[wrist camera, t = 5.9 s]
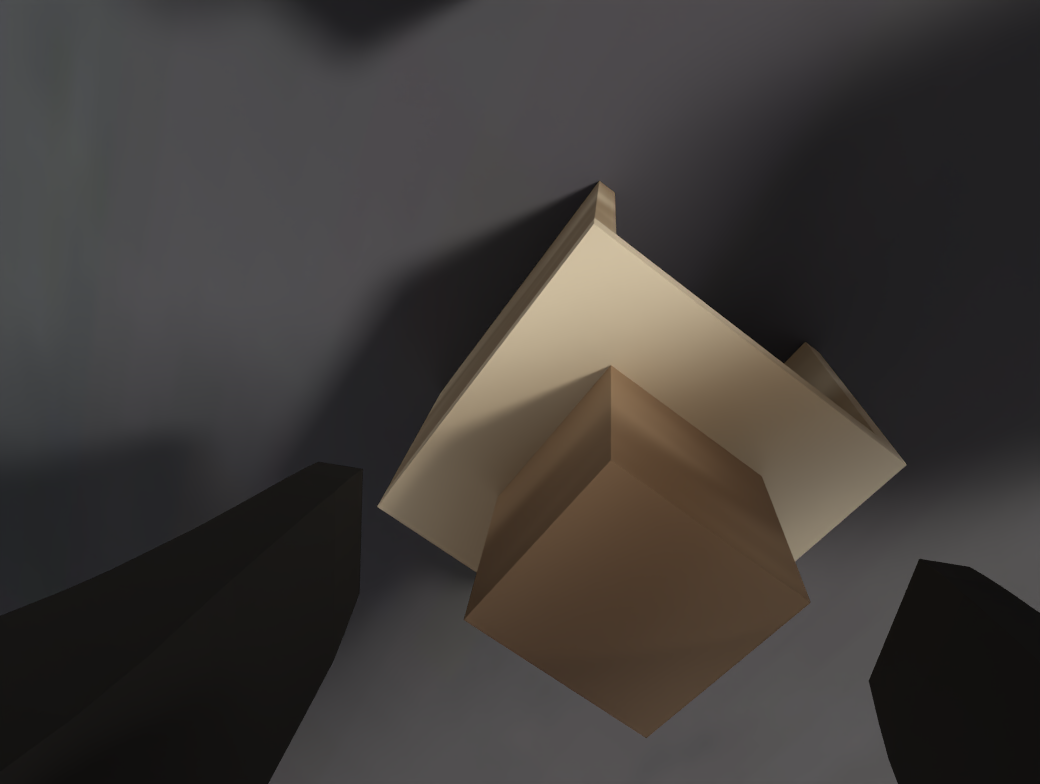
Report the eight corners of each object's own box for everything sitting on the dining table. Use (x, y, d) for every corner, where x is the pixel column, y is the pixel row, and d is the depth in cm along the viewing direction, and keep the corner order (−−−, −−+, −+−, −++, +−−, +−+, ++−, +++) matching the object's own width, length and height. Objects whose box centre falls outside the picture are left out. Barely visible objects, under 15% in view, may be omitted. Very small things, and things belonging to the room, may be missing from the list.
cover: (819, 352, 15) (1007, 592, 8) (639, 532, 18) (659, 845, 10) (599, 181, 15) (587, 275, 7) (440, 392, 17) (309, 627, 10)
